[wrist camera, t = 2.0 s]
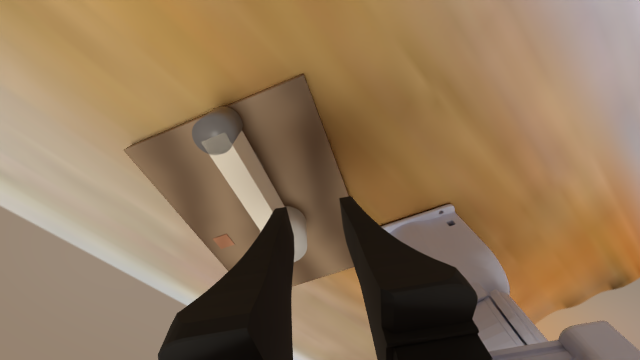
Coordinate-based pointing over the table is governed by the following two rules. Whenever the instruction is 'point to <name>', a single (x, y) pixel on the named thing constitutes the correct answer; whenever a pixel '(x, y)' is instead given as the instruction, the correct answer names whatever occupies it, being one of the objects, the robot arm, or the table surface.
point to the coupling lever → (245, 171)
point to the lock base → (280, 166)
